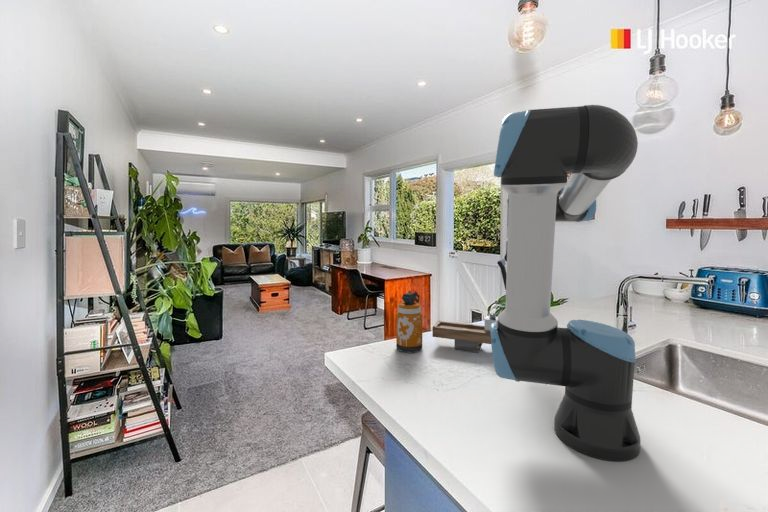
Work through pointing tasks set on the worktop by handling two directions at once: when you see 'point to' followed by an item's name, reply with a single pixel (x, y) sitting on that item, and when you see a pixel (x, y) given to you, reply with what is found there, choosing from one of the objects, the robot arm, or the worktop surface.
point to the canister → (409, 324)
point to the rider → (490, 321)
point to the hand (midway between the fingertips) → (516, 312)
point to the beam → (463, 335)
